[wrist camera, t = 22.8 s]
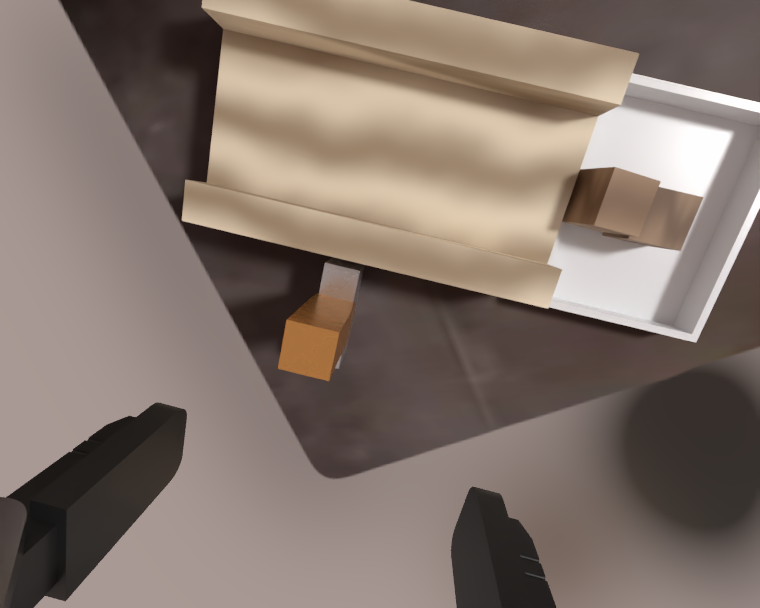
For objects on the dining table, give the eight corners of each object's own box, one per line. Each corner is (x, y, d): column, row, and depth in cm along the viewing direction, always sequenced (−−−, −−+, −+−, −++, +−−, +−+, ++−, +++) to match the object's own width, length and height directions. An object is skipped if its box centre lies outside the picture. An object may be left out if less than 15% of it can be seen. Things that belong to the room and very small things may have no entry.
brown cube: (649, 184, 28) (703, 197, 28) (619, 187, 31) (666, 198, 31) (628, 238, 29) (680, 251, 29) (601, 235, 32) (647, 246, 32)
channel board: (251, 10, 31) (206, -47, 24) (587, 88, 30) (639, 53, 24) (225, 218, 35) (181, 220, 28) (520, 289, 35) (548, 308, 28)
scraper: (331, 256, 35) (293, 278, 24) (367, 264, 35) (348, 291, 24) (313, 344, 37) (271, 404, 26) (348, 353, 37) (321, 417, 26)
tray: (593, 82, 30) (613, 68, 27) (766, 122, 30) (804, 113, 27) (522, 295, 35) (532, 303, 32) (671, 331, 35) (696, 342, 32)
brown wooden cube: (575, 169, 30) (615, 166, 26) (616, 182, 31) (660, 181, 27) (558, 220, 31) (593, 225, 27) (598, 231, 31) (638, 237, 28)
